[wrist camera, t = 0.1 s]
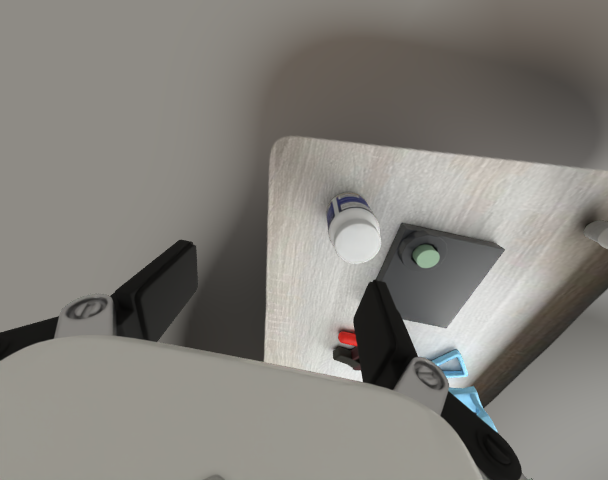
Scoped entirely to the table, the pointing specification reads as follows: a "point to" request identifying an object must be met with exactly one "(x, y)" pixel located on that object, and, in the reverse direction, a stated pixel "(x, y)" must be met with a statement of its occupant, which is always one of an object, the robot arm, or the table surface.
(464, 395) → the chair
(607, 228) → the lightbulb
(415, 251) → the button
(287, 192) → the table surface
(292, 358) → the table surface
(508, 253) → the table surface
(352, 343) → the toy gun
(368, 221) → the pill bottle
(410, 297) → the dark grey button base
